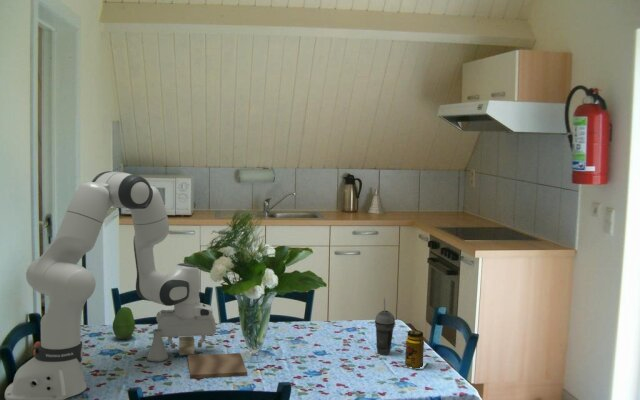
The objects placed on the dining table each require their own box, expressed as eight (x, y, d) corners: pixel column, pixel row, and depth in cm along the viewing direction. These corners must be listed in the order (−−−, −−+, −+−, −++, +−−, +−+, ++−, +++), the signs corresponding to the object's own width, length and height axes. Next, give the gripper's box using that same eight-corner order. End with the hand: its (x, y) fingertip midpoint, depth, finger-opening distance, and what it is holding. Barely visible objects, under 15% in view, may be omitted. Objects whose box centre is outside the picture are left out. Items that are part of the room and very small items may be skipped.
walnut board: (190, 378, 217) (190, 374, 217) (187, 359, 235) (187, 355, 234) (247, 375, 221) (247, 371, 221) (240, 356, 239) (240, 353, 239)
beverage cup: (378, 357, 242) (381, 302, 240) (369, 350, 249) (372, 297, 247) (397, 355, 245) (399, 300, 243) (387, 349, 252) (390, 295, 249)
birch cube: (179, 355, 238) (179, 341, 238) (179, 350, 243) (179, 336, 243) (194, 354, 239) (194, 340, 239) (193, 349, 244) (193, 336, 244)
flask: (162, 363, 230) (162, 334, 229) (142, 361, 231) (142, 332, 230) (171, 356, 237) (171, 328, 236) (152, 354, 238) (152, 326, 237)
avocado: (139, 338, 255) (139, 306, 253) (123, 343, 248) (123, 311, 247) (123, 334, 259) (123, 302, 257) (107, 339, 252) (107, 307, 251)
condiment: (401, 367, 234) (402, 332, 232) (408, 359, 241) (410, 326, 240) (421, 371, 231) (423, 336, 229) (428, 363, 238) (430, 329, 237)
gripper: (156, 312, 234) (156, 352, 236) (216, 310, 239) (216, 349, 240) (156, 307, 240) (156, 346, 242) (215, 305, 245) (214, 343, 246)
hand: (186, 347), depth 241 cm, fingers open, 8 cm apart
